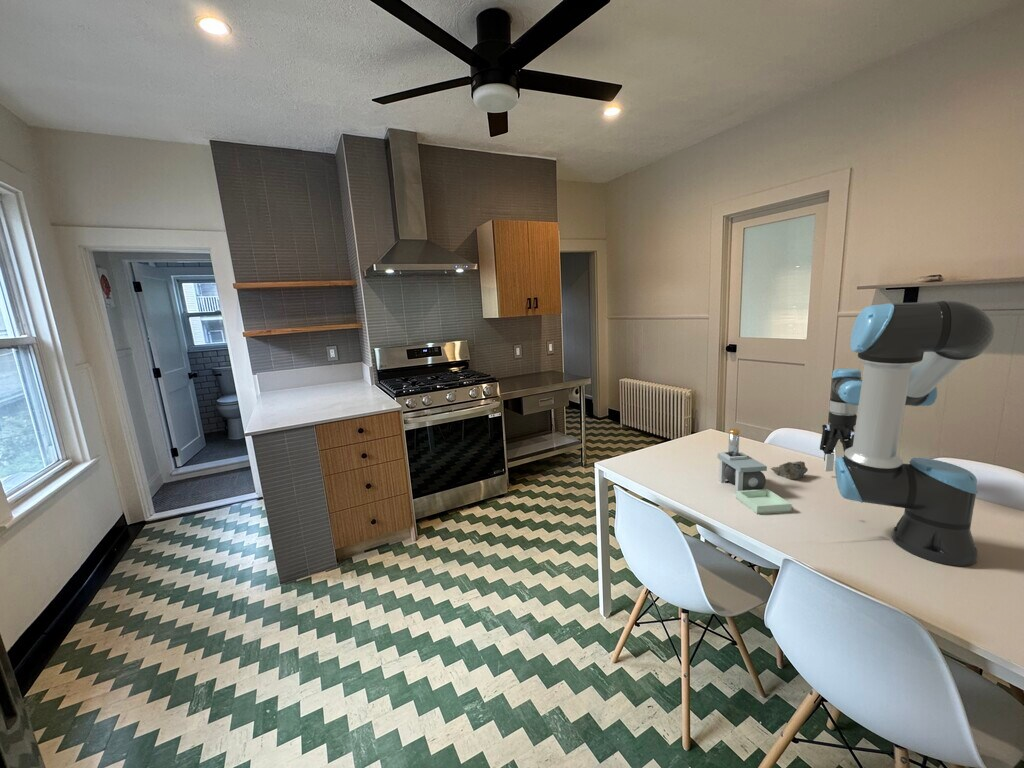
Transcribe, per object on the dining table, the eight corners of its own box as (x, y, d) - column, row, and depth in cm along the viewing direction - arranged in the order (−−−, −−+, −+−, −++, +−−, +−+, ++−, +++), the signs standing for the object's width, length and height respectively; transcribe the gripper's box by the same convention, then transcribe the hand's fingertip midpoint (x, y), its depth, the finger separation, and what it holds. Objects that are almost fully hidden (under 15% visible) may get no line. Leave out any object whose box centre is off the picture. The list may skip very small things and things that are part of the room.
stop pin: (740, 458, 138) (741, 431, 136) (731, 458, 138) (732, 431, 136) (735, 454, 141) (736, 428, 140) (725, 455, 141) (726, 429, 140)
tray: (791, 512, 120) (791, 504, 120) (756, 514, 120) (757, 506, 120) (767, 496, 131) (768, 489, 131) (736, 498, 131) (736, 491, 130)
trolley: (768, 495, 132) (770, 463, 130) (739, 497, 131) (740, 465, 130) (742, 478, 145) (744, 449, 144) (716, 480, 145) (717, 451, 143)
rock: (782, 460, 140) (766, 467, 149) (788, 477, 137) (772, 483, 146) (812, 458, 140) (794, 465, 149) (819, 474, 138) (800, 481, 147)
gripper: (880, 419, 125) (873, 486, 129) (829, 406, 145) (824, 464, 148) (858, 420, 125) (851, 487, 129) (810, 407, 145) (805, 465, 148)
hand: (837, 475), depth 139 cm, fingers open, 7 cm apart
